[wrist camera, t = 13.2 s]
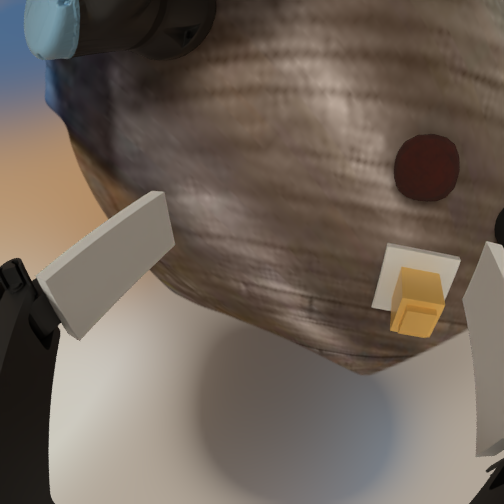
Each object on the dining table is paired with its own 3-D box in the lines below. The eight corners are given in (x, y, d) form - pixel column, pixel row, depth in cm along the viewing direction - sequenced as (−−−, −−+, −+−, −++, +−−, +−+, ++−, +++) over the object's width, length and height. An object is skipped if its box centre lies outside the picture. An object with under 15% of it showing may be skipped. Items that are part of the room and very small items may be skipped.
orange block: (391, 298, 43) (389, 336, 36) (401, 266, 39) (402, 303, 33) (427, 305, 40) (429, 343, 34) (439, 273, 37) (446, 311, 31)
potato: (377, 157, 34) (378, 175, 28) (428, 113, 28) (442, 121, 22) (415, 202, 34) (422, 229, 29) (465, 164, 28) (483, 184, 23)
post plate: (371, 303, 46) (368, 329, 41) (387, 242, 39) (387, 266, 35) (435, 314, 42) (437, 341, 37) (459, 256, 35) (467, 281, 31)
